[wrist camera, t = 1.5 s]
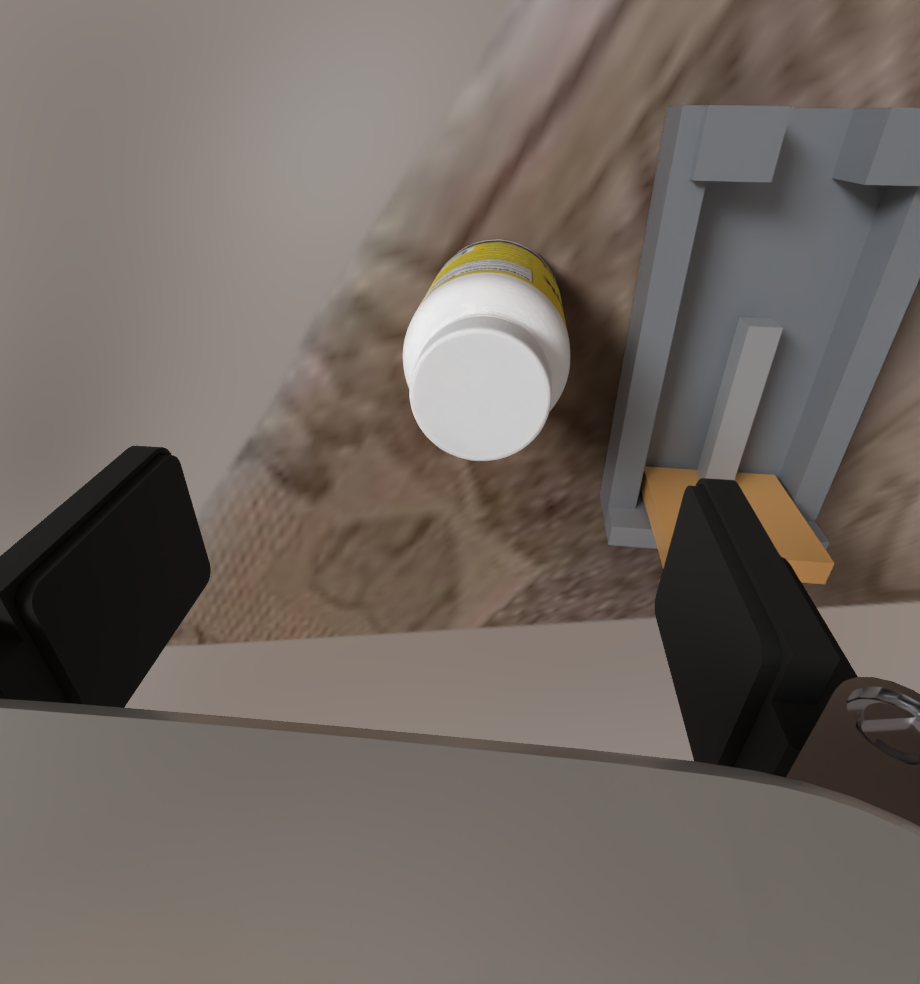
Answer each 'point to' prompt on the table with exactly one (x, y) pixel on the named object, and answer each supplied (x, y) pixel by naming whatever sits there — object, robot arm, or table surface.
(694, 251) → the lane base
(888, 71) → the table surface
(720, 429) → the pusher
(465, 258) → the supplement bottle
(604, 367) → the table surface
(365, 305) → the table surface
